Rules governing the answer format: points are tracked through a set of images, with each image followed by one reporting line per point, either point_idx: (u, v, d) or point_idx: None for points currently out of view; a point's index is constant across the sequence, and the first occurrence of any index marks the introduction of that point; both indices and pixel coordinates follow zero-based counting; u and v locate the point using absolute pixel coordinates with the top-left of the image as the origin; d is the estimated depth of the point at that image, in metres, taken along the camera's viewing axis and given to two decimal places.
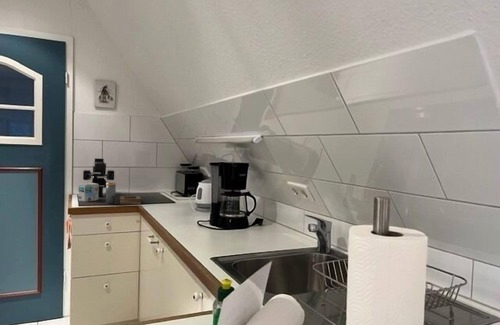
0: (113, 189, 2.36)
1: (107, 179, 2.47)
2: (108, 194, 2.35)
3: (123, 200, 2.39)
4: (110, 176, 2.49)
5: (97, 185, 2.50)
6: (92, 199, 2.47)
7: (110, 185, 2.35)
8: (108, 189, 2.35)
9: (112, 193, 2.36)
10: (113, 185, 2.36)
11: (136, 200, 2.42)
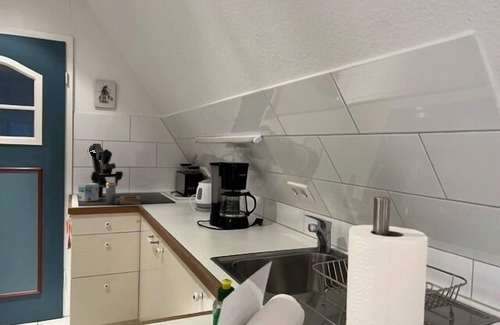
0: (113, 189, 2.36)
1: (115, 181, 2.48)
2: (108, 194, 2.35)
3: (123, 200, 2.39)
4: None
5: (97, 185, 2.50)
6: (92, 199, 2.47)
7: (110, 185, 2.35)
8: (108, 189, 2.35)
9: (112, 193, 2.36)
10: (113, 185, 2.36)
11: (136, 200, 2.42)
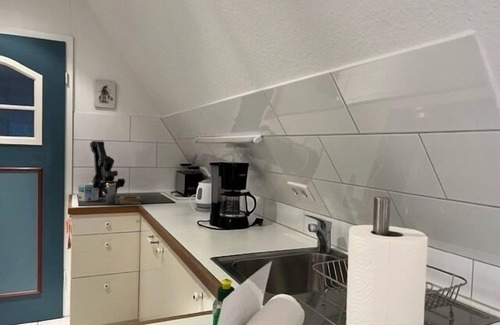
0: (113, 189, 2.36)
1: None
2: (108, 194, 2.35)
3: (123, 200, 2.39)
4: (118, 185, 2.44)
5: None
6: (92, 199, 2.47)
7: (110, 185, 2.35)
8: (108, 189, 2.35)
9: (112, 193, 2.36)
10: (113, 185, 2.36)
11: (136, 200, 2.42)
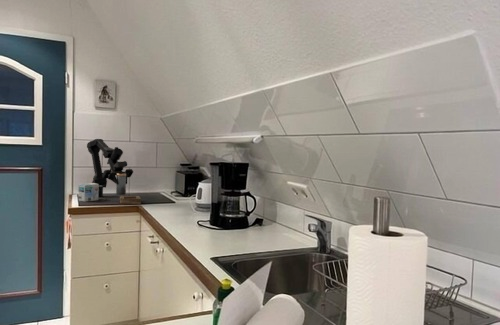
0: (124, 179, 2.40)
1: None
2: (119, 184, 2.39)
3: (123, 200, 2.39)
4: None
5: (97, 185, 2.50)
6: (92, 199, 2.47)
7: (122, 175, 2.38)
8: (119, 179, 2.38)
9: (123, 183, 2.40)
10: (124, 175, 2.40)
11: (136, 200, 2.42)
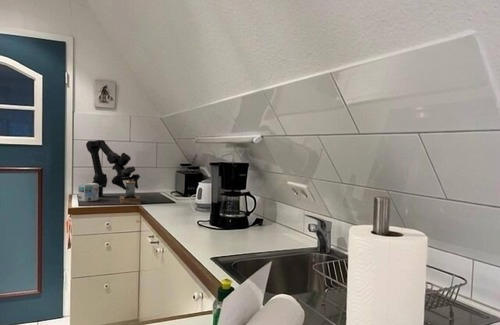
0: (134, 186, 2.45)
1: None
2: (130, 192, 2.44)
3: (123, 200, 2.39)
4: None
5: (97, 185, 2.50)
6: (92, 199, 2.47)
7: (132, 183, 2.44)
8: (130, 187, 2.43)
9: (133, 190, 2.45)
10: (134, 183, 2.45)
11: (136, 200, 2.42)
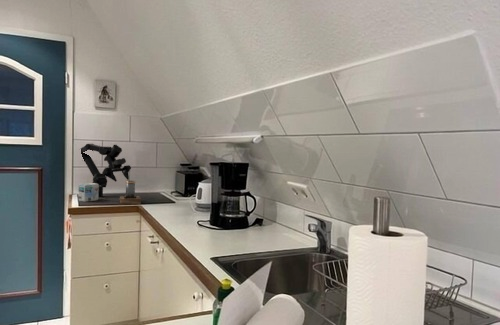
0: (134, 186, 2.45)
1: (124, 175, 2.57)
2: (130, 192, 2.44)
3: (123, 200, 2.39)
4: None
5: (97, 185, 2.50)
6: (92, 199, 2.47)
7: (132, 183, 2.44)
8: (130, 187, 2.43)
9: (133, 190, 2.45)
10: (134, 183, 2.45)
11: (136, 200, 2.42)
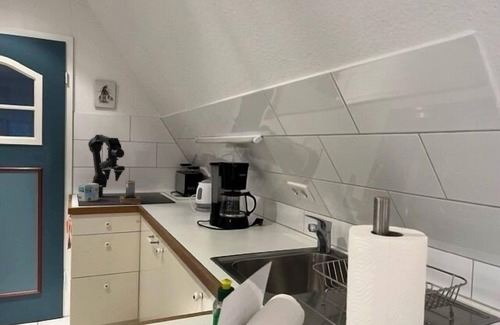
0: (134, 186, 2.45)
1: None
2: (130, 192, 2.44)
3: (123, 200, 2.39)
4: None
5: (97, 185, 2.50)
6: (92, 199, 2.47)
7: (132, 183, 2.44)
8: (130, 187, 2.43)
9: (133, 190, 2.45)
10: (134, 183, 2.45)
11: (136, 200, 2.42)
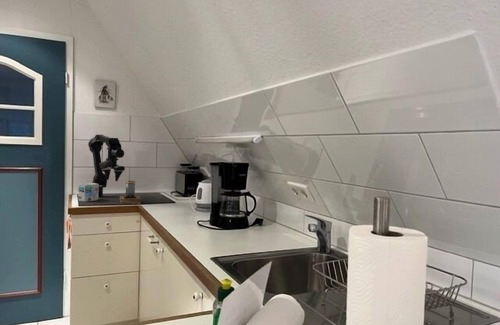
0: (134, 186, 2.45)
1: None
2: (130, 192, 2.44)
3: (123, 200, 2.39)
4: (119, 171, 2.47)
5: (97, 185, 2.50)
6: (92, 199, 2.47)
7: (132, 183, 2.44)
8: (130, 187, 2.43)
9: (133, 190, 2.45)
10: (134, 183, 2.45)
11: (136, 200, 2.42)
